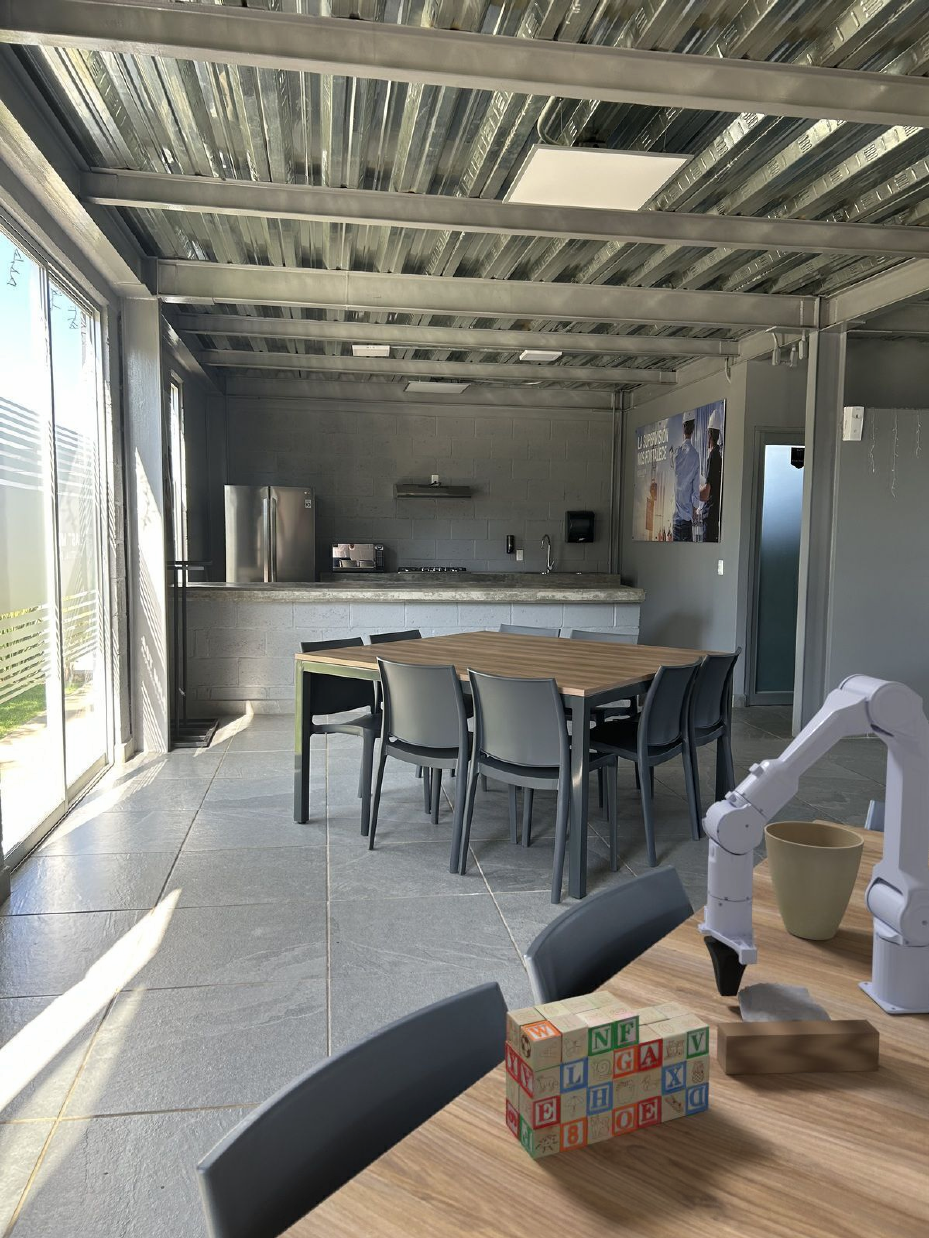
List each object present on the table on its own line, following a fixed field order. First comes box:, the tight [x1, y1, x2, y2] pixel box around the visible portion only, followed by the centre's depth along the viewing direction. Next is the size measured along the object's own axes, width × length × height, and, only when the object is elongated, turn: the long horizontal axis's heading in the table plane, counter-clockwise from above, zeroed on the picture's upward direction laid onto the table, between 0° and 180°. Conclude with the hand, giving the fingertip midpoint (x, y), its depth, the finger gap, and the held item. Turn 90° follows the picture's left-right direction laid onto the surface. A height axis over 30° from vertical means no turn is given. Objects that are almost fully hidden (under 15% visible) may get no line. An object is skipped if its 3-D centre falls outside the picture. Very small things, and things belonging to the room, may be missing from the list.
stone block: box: [737, 982, 832, 1022], centre depth 112 cm, size 12×5×10 cm
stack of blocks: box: [504, 989, 711, 1160], centre depth 93 cm, size 21×6×12 cm, turn 113°
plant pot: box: [763, 820, 865, 941], centre depth 142 cm, size 15×15×16 cm
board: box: [716, 1019, 881, 1075], centre depth 103 cm, size 18×3×4 cm, turn 93°
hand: (727, 993), depth 118 cm, fingers closed
